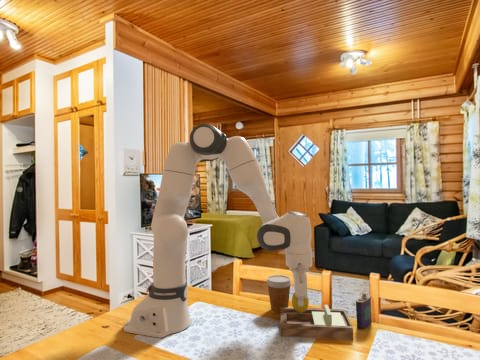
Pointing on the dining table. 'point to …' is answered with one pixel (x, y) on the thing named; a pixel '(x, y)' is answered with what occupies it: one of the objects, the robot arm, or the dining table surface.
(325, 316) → the cover
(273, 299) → the disposable coffee cup
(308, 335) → the wooden tray
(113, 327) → the dining table surface
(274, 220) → the robot arm
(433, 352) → the dining table surface
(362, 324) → the flask
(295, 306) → the lemon
